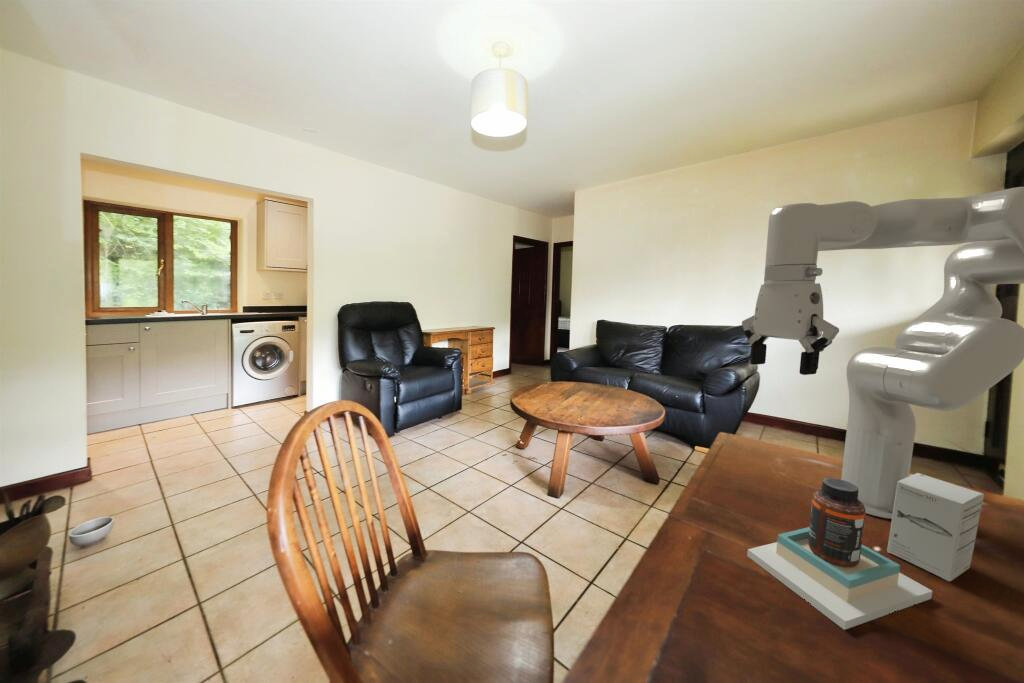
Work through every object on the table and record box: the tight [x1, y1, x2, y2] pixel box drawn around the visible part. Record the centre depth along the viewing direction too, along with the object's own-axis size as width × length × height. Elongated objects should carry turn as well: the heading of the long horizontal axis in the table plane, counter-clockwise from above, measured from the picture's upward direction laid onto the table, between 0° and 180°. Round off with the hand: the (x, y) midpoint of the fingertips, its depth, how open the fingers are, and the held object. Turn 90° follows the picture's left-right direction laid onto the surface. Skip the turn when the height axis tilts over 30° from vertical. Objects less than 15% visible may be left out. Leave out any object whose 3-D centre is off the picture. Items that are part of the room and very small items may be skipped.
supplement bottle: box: [808, 477, 866, 566], centre depth 56 cm, size 6×6×11 cm
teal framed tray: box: [746, 526, 933, 631], centre depth 56 cm, size 17×14×4 cm
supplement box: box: [886, 472, 985, 583], centre depth 59 cm, size 7×7×13 cm
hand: (781, 368), depth 70 cm, fingers open, 9 cm apart
